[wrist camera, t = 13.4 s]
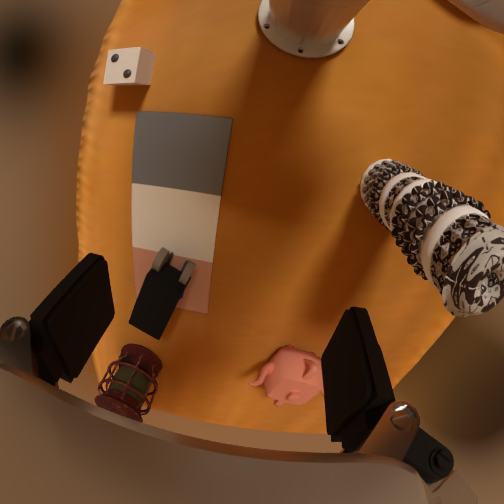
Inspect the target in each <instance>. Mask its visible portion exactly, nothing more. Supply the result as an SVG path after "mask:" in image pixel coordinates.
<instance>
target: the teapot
mask: <svg viewBox="0 0 504 504" xmlns="http://www.w3.org/2000/svg"><path fill="white" fill-rule="evenodd" d="M263 381H264V386H265V390H266V394H267V396H268V397H270V398H272V399H275V400H274V405H275V406H277V407H279V406H281V405H283V404H284V403H285V402H286V403H291V404H297V405H304V404H305V403H307V402H308V401H309V400H311V399H312V398H313V397H314V396H315V395H316V394H318V393H319V392H320V393H321V394H322V395H323V396H324V388H323V378H322V368H321V358H319V357H317V356H315V354H314V353H313V352H305V351H302V350H298V349H294V347H293V346H292V345H286V346H284V347H282V348H280V349H279V350H278V351H277V352H276V354H275V355H274V356H273V357H272V358H271V360H270V361H269V362H268V363H267V364H265V365H264V366H263V367H262V368H261V370H260V372H259V375H258V378H257V379H256V380H255V381H253V382H249V383H248V384H250V385H253V386H258V385H261V384H262V383H263Z"/></svg>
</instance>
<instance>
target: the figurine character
mask: <svg viewBox="0 0 504 504" xmlns="http://www.w3.org/2000/svg"><path fill="white" fill-rule="evenodd" d="M169 252H170V251H169V250H167V249H165V248H163V247H162V248H161V249H160V250H159V252H158V254H157V255H156V257H155V259H154V261H153V264H152V267H151V269H150V271H149V272H148V273H147V274H146V277H145V279H144V282H143V284H142V287H141V290H140V292H139V295H138V298H137V300H136V303H135V306H134V309H133V311H132V314H131V317H130V320H129V324H131V325H133V326H135V327H136V328H138V329H140V330H141V331H143V332H145V333H147V334H148V335H150V336H152V337H154V338H156V339H157V340H159V339H160V337H161V335H162V333H163V331H164V329H165V327H166V325H167V323H168V321H169V319H170V317H171V315H172V313H173V311H174V309H175V307H176V305H177V304H178V302H179V300H180V299H181V298H183V294H184V290H185V288H186V286H187V285H188V283H189V281H190V279H191V274H192V272H193V270H194V268H195V266H196V264H195V263H194V262H192V261H190V260H187V261H185V263H184V265H183V267H182V269H181V271H180V270H178V269H176V268H175V267H173V266H171V265H170V262H171V260H172V258H173V256H174V254H173V252H171V253H169ZM166 259H167V260H166ZM165 261H166V262H165Z"/></svg>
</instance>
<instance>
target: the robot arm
mask: <svg viewBox="0 0 504 504" xmlns="http://www.w3.org/2000/svg"><path fill="white" fill-rule="evenodd" d="M368 1H369V0H262V1H261V3H260V5H259V8H258V21H259V24H260V28H261V30H262V32H263V33H264V35H265V36H266V38H267V39H268V40H269V41H270V42H271V43H272V44H273V45H275V46H276V47H277V48H279V49H281V50H282V51H284V52H286V53H289V54H291V55H294V56H298V57H303V58H321V57H326V56H330V55H332V54H334V53H336V52H338V51H339V50H341V49H342V48H344V47H345V46H346V45H347V43H348V42H349V41H350V39H351V37H352V35H353V33H354V27H355V23H354V17H355V16H356V15H357V14H358V12H359V11H360V10H361V9H362V8H363V7H364V6H365V5H366V4H367V2H368ZM447 1H449V2H450V3H451V4H453V5H454V6H456V7H457V8H459V9H460V10H461V11H463V12H464V13H465V14H467V15H468V16H470V17H471V18H473V19H474V20H475V21H477V22H478V23H480V24H482V25H483V26H485V27H487V28H489V29H491V30H493V31H495V32H498V33H502V34H504V0H447ZM265 27H269V28H268V29H266V28H265ZM338 42H340V43H341V45H340V44H338ZM299 50H301V51H302V53H299ZM114 314H115V310H114V304H113V298H112V292H111V286H110V279H109V272H108V264H107V261H106V260H104V257H103V256H101V255H97V254H94V253H89V254H88V255H87V256H86V257H85V258H84V259H83V260H82V261H80V262H79V263H78V264H77V266H75V268H73V269H72V271H71V272H70V273H69V274H68V275H67V276H66V277H65V278H64V279H63V280H62V281H61V282H60V283H59V284H58V285H57V286H56V288H54V289H53V290H52V292H51V293H50V294H49V295H48V296H47V297H46V298H45V299H44V300H43V301H42V303H41V304H40V305H39V306H38V307H37V308H36V309H35V311H34V312H33V313H32V314H31V315H30V317H31V320H30V321H29V322H28V321H27V319H25V318H24V317H19V316H18V317H13V318H10V319H8V320H7V321H5V322H4V323H3V324H2V326H1V328H0V504H478V502H477V501H478V500H477V497H476V495H475V493H474V492H473V490H472V489H471V488H470V486H469V485H468V483H467V482H466V481H465V479H464V478H463V477H462V475H461V474H460V472H459V471H458V470H457V469H455V470H453V466H454V464H453V463H454V460H453V455H452V454H451V452H450V451H449V450H448V449H447V448H446V447H445V446H444V445H442V444H441V443H440V442H438V441H437V440H435V439H434V438H433V437H431V436H430V435H429V434H427V433H426V432H425V431H423V430H422V429H421V428H420V427H419V426H420V416H419V413H418V411H417V409H416V408H415V407H414V406H413V405H412V404H411V403H408V402H406V401H401V400H400V401H395V397H394V393H393V389H392V386H391V382H390V378H389V375H388V371H387V368H386V364H385V361H384V357H383V354H382V351H381V348H380V346H379V345H378V342H377V339H376V336H375V333H374V329H373V326H372V323H371V320H370V317H369V315H368V312H367V310H366V309H365V308H359V307H351V308H350V309H349V310H345V312H344V314H343V316H342V318H341V320H340V322H339V324H338V326H337V328H336V330H335V332H334V334H333V336H332V338H331V339H330V341H329V343H328V345H327V347H326V349H325V351H324V353H323V355H322V358H321V368H322V378H323V388H324V400H325V412H326V427H327V434H328V435H331V442H342V448H343V449H342V450H341V452H340V453H312V452H293V451H279V450H268V449H259V448H251V447H244V446H237V445H231V444H225V443H220V442H214V441H209V440H204V439H199V438H195V437H191V436H187V435H182V434H179V433H175V432H171V431H167V430H164V429H160V428H157V427H154V426H150V425H147V424H144V423H141V422H138V421H135V420H132V419H129V418H127V417H124V416H121V415H118V414H116V413H113V412H110V411H108V410H105V409H103V408H100V407H98V406H96V405H93V404H91V403H89V402H86V401H84V400H82V399H80V398H78V397H76V396H73V395H71V394H69V393H67V392H65V391H63V390H61V389H59V386H58V380H59V379H60V378H61V379H64V380H65V381H67V382H69V383H71V382H72V381H73V379H74V378H77V377H78V375H79V374H80V372H81V370H82V369H83V367H84V365H85V364H86V362H87V360H88V359H89V357H90V355H91V354H92V352H93V350H94V349H95V347H96V345H97V344H98V342H99V340H100V339H101V337H102V335H103V334H104V332H105V331H106V329H107V327H108V326H109V324H110V323H111V321H112V320H113V318H114Z"/></svg>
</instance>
